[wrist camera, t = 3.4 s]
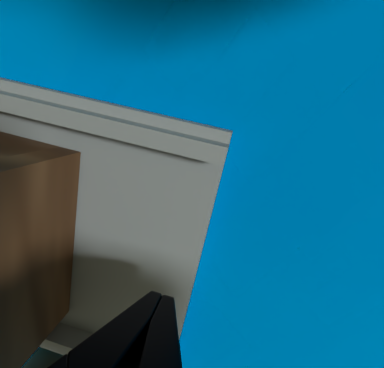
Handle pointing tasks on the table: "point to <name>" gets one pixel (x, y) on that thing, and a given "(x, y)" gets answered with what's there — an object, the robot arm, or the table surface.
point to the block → (34, 242)
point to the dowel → (42, 359)
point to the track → (124, 200)
